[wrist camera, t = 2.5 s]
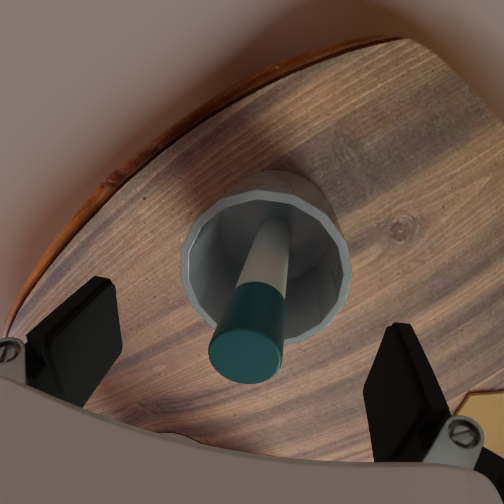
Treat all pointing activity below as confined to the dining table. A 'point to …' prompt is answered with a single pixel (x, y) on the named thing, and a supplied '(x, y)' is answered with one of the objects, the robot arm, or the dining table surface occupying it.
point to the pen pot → (241, 239)
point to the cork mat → (487, 417)
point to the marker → (255, 310)
